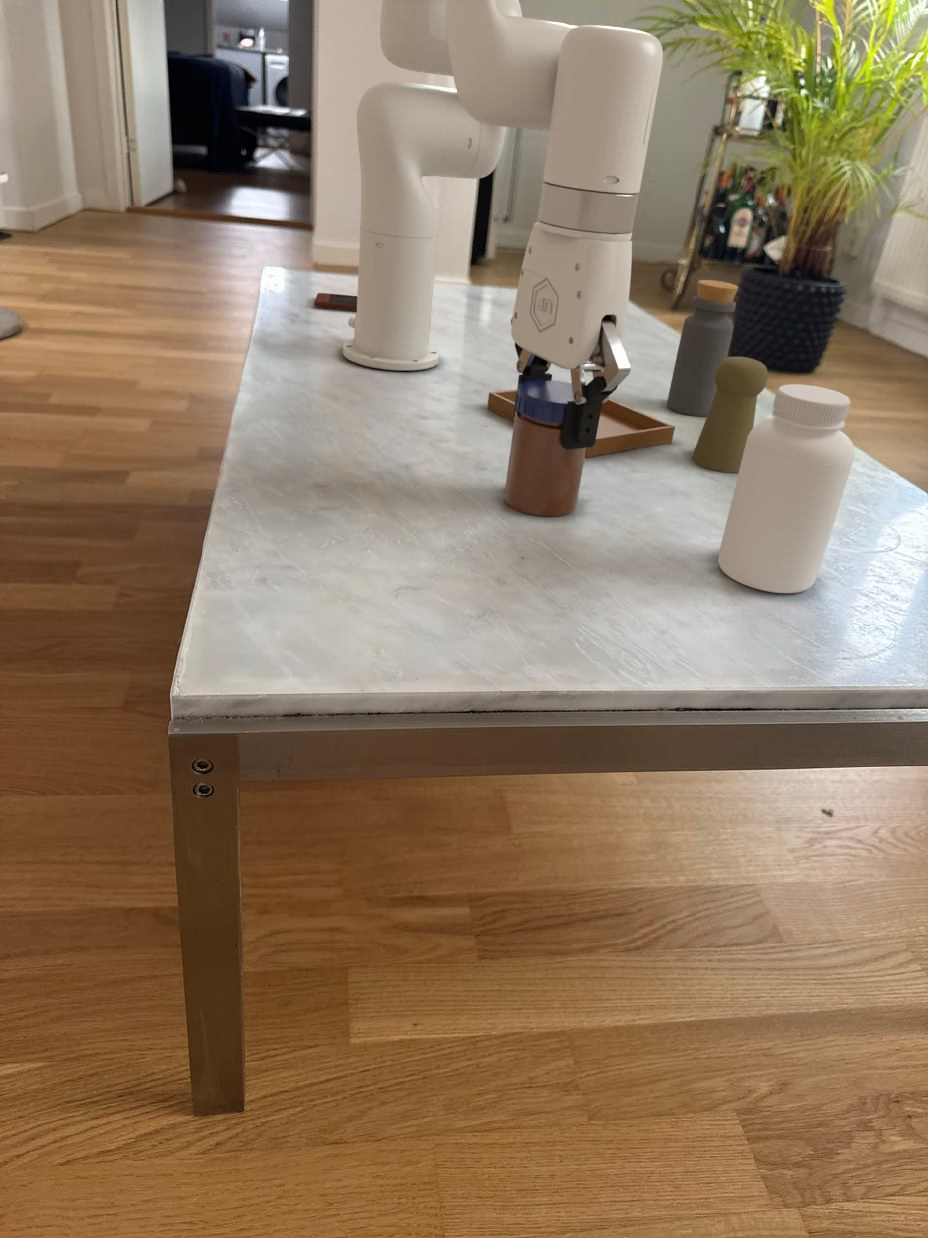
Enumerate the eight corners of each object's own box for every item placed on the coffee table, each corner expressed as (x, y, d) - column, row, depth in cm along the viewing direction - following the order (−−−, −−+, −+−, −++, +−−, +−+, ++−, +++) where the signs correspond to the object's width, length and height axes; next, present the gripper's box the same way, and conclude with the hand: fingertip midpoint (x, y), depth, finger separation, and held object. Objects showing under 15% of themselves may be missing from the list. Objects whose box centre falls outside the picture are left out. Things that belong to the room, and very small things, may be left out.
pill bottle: (702, 549, 80) (746, 374, 73) (792, 554, 81) (844, 382, 74) (733, 593, 73) (785, 405, 66) (830, 598, 74) (892, 413, 67)
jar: (489, 494, 86) (502, 393, 82) (543, 483, 90) (558, 386, 85) (535, 522, 82) (551, 417, 77) (591, 509, 85) (609, 408, 81)
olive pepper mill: (716, 474, 97) (743, 368, 92) (679, 454, 102) (703, 351, 96) (760, 470, 100) (788, 366, 94) (722, 450, 104) (747, 350, 99)
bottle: (714, 419, 115) (744, 291, 107) (666, 411, 115) (693, 283, 108) (713, 406, 120) (742, 283, 112) (666, 398, 120) (692, 276, 113)
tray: (487, 408, 109) (488, 392, 108) (570, 398, 116) (572, 382, 115) (586, 457, 98) (589, 440, 97) (671, 442, 105) (675, 426, 104)
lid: (565, 396, 86) (567, 377, 85) (609, 421, 81) (613, 401, 80) (499, 400, 83) (502, 381, 82) (542, 426, 77) (545, 406, 77)
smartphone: (412, 309, 146) (314, 300, 144) (411, 316, 146) (313, 307, 145) (411, 300, 152) (317, 291, 150) (410, 306, 152) (317, 297, 151)
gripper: (489, 194, 78) (467, 404, 87) (615, 231, 66) (574, 472, 75) (563, 198, 82) (535, 399, 91) (696, 234, 69) (648, 464, 78)
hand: (553, 430), depth 83 cm, fingers closed on lid, 6 cm apart
